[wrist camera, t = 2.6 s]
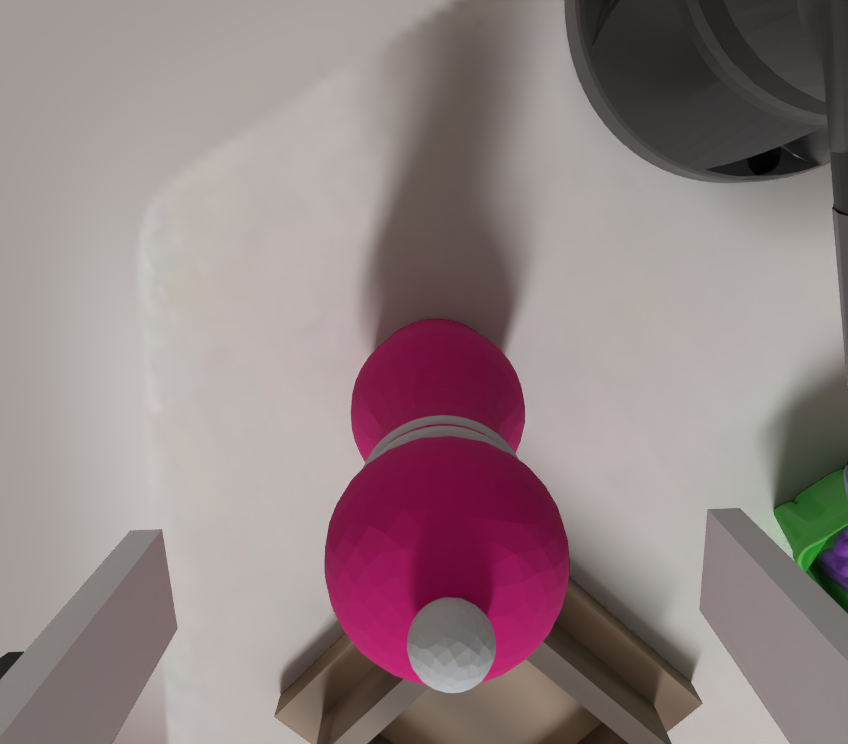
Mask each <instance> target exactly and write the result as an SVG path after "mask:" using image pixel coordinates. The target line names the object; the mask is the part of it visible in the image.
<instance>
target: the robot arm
mask: <svg viewBox="0 0 848 744" xmlns="http://www.w3.org/2000/svg"><path fill="white" fill-rule="evenodd" d="M565 16H566V28H567V36H568V42H569V47H570V52H571V56H572V59H573V63H574V66H575V69H576V72H577V75H578V78H579V80H580V83H581V85H582V87H583V89H584V92H585V94H586V95H587V97H588V99H589V101H590V103H591V105H592V106H593V108H594V109H595V111H596V113H597V114H598V116H599V117H600V118H601V120H602V121H603V122H604V124H605V125H606V126H607V127H608V128H609V130H610V131H611V132H612V133H613V134H614V135H615V136H616V137H617V138H618V139H619V140H620V141H621V142H622V143H623V144H624V145H626V146H627V147H628V148H629V149H630V150H632V151H633V152H634V153H636V154H637V155H638V156H640V157H641V158H643V159H644V160H646V161H648V162H650V163H651V164H653V165H655V166H657V167H659V168H661V169H663V170H665V171H668V172H671V173H673V174H676V175H679V176H683V177H686V178H690V179H695V180H700V181H707V182H717V183H737V182H757V181H767V180H775V179H780V178H785V177H790V176H793V175H797V174H801V173H804V172H807V171H809V170H812V169H815V168H818V167H821V166H823V165H825V164H828V163H830V162H831V170H832V183H833V196H834V204H833V205H834V206H833V208H832V210H833V222H834V234H835V245H836V257H837V269H838V280H839V292H840V304H841V315H842V327H843V339H844V351H845V362H846V374H847V386H848V0H565ZM844 484H845V491H846V496H847V498H848V463H847V466H846V467H845V469H844ZM700 611H701V612H702V614H703V615H704V617H705V618H706V620H707V621H708V623H709V624H710V626H711V627H712V629H713V630H714V632H715V633H716V635H717V636H718V638H719V639H720V641H721V642H722V644H723V645H724V647H725V648H726V649H727V651H728V652H729V654H730V655H731V657H732V658H733V660H734V661H735V663H736V664H737V666H738V667H739V669H740V670H741V672H742V673H743V675H744V676H745V678H746V679H747V681H748V682H749V684H750V685H751V686H752V688H753V689H754V691H755V692H756V694H757V695H758V697H759V698H760V700H761V701H762V703H763V704H764V706H765V707H766V709H767V710H768V712H769V713H770V715H771V716H772V718H773V719H774V721H775V722H776V723H777V725H778V726H779V728H780V729H781V731H782V732H783V734H784V735H785V737H786V738H787V740H788V741H789V743H790V744H848V613H847V612H846V611H845V610H843V609H842V608H841V607H840V606H839V605H838V604H837V603H836V602H835V601H834V600H833V599H832V598H831V597H830V596H829V595H828V594H827V593H826V592H825V591H824V590H823V589H822V588H821V587H820V586H819V585H818V584H817V583H816V582H815V581H814V580H813V579H812V578H811V577H810V576H809V575H808V574H807V573H806V572H805V571H803V570H802V569H801V568H800V567H799V566H798V565H797V564H796V563H795V562H794V561H793V560H792V559H791V558H790V557H789V556H788V555H787V554H786V553H785V552H784V551H783V550H782V549H781V548H780V547H779V546H778V545H777V544H776V543H775V542H774V541H773V540H772V539H771V538H770V537H769V536H768V535H767V534H766V533H765V532H764V531H762V530H761V529H760V528H759V527H758V526H757V525H756V524H755V523H754V522H753V521H752V520H751V519H750V518H749V517H748V516H747V515H746V514H745V513H744V512H743V511H742V510H741V509H740V508H731V509H708V511H707V523H706V536H705V548H704V561H703V573H702V586H701V598H700ZM176 630H177V622H176V616H175V610H174V603H173V597H172V590H171V584H170V578H169V571H168V565H167V558H166V552H165V546H164V539H163V533H162V530H135V531H130V532H129V533H128V534H127V535H126V536H125V537H124V538H123V540H122V541H121V542H120V543H119V544H118V545H117V547H116V548H115V549H114V550H113V551H112V552H111V553H110V555H109V556H108V557H107V558H106V559H105V560H104V561H103V563H102V564H101V565H100V566H99V567H98V568H97V569H96V571H95V572H94V573H93V574H92V575H91V576H90V578H89V579H88V580H87V581H86V582H85V583H84V584H83V585H82V587H81V588H80V589H79V590H78V591H77V592H76V594H75V595H74V596H73V597H72V598H71V599H70V600H69V601H68V603H67V604H66V605H65V606H64V607H63V608H62V610H61V611H60V612H59V613H58V614H57V615H56V616H55V618H54V619H53V620H52V621H51V622H50V623H49V625H48V626H47V627H46V628H45V629H44V630H43V631H42V632H41V634H40V635H39V636H38V637H37V638H36V639H35V640H34V642H33V643H32V644H31V645H30V646H29V647H28V649H27V650H26V651H25V652H8V653H7V654H5V655H4V656H2V657H1V658H0V744H112V743H113V742H114V740H115V738H116V736H117V735H118V732H119V731H120V729H121V727H122V726H123V724H124V722H125V720H126V719H127V717H128V715H129V713H130V711H131V710H132V708H133V706H134V704H135V703H136V701H137V699H138V697H139V696H140V694H141V692H142V690H143V688H144V687H145V685H146V683H147V681H148V680H149V678H150V676H151V674H152V673H153V671H154V669H155V667H156V666H157V664H158V662H159V660H160V658H161V657H162V655H163V653H164V651H165V650H166V648H167V646H168V644H169V643H170V641H171V639H172V637H173V635H174V634H175V632H176Z"/></svg>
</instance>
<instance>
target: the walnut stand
mask: <svg viewBox="0 0 848 744" xmlns="http://www.w3.org/2000/svg"><path fill="white" fill-rule="evenodd" d="M701 704H703V703H702V701H701V700H700V698H699V696H698V694H697V692H696V690H695V689H694V687H693V685H692V683H691V682H690V681H688V680H687V679H686V678H685V677H684V676H683V675H682V674H680V673H679V672H678V671H677V670H676V669H675V668H673V667H672V666H671V665H670V664H669V663H668V662H667V661H665V660H664V659H663V658H662V657H661V656H660V655H658V654H657V653H656V652H655V651H654V650H653V649H651V648H650V647H649V646H648V645H647V644H646V643H645V642H643V641H642V640H641V639H640V638H639V637H638V636H636V635H635V634H634V633H633V632H632V631H631V630H630V629H628V628H627V627H626V626H625V625H624V624H623V623H621V622H620V621H619V620H618V619H617V618H616V617H615V616H613V615H612V614H611V613H610V612H609V611H608V610H606V609H605V608H604V607H603V606H602V605H601V604H600V603H598V602H597V601H596V600H595V599H594V598H593V597H591V596H590V595H589V594H588V593H587V592H586V591H585V590H583V589H582V588H581V587H580V586H579V585H578V584H576V583H575V582H574V581H573V580H572V579H571V578H570V577H568V586H567V590H566V594H565V597H564V601H563V605H562V609H561V611H560V613H559V615H558V617H557V619H556V621H555V623H554V625H553V627H552V629H551V631H550V633H549V635H548V636H547V637H546V638H545V639H544V641H543V642H542V643H541V644H540V645H539V647H538V648H537V649H536V650H535V651H534V652H533V653H532V654H531V655H530V656H529V657H528V658H527V659H525V660H524V661H523V662H522V663H520V664H519V665H517V666H516V667H514V668H513V669H511V670H509V671H508V672H506V673H505V674H503V675H501V676H499V677H496V678H493V679H491V680H488V681H485V682H483V683H480V684H477V685H476V686H474V687H473V688H472V689H469V690H467V691H464V692H461V693H445V692H442V691H438V690H435V689H433V688H431V687H430V686H428V685H424V684H419V683H414V682H411V681H408V680H406V679H403V678H400V677H397V676H394V675H392V674H391V673H389V672H388V671H386V670H385V669H383V668H381V667H380V666H378V665H377V664H375V663H374V662H372V661H371V660H370V659H369V658H367V657H366V656H365V655H364V654H362V653H361V652H360V651H359V650H358V649H357V647H356V646H355V645H354V643H353V642H352V641H351V639H350V638H349V637H348V635H347V634H346V633H345V634H344V635H343V636H342V637H341V638H340V639H339V640H338V641H337V642H336V643H335V644H334V645H333V646H332V647H331V648H330V649H328V650H327V651H326V652H325V653H324V654H323V655H322V656H321V657H320V658H319V659H318V660H317V661H316V662H315V663H314V664H313V665H312V666H311V667H310V668H309V669H308V670H307V671H306V672H305V673H304V674H303V675H301V676H300V677H299V678H298V679H297V680H296V681H295V682H294V683H293V684H292V685H291V686H290V687H289V688H288V689H287V690H286V691H285V692H284V693H283V694H282V695H281V696H280V699H279V702H278V706H277V709H276V712H275V716H274V717H275V718H277V719H278V720H279V721H281V722H282V723H284V724H285V725H286V726H288V727H289V728H290V729H292V730H293V731H294V732H296V733H297V734H299V735H300V736H301V737H303V738H304V739H305V740H307V741H308V742H310V743H311V744H671V741H670V739H669V737H668V735H667V732H668V731H669V730H670V729H672V728H673V727H674V726H675V725H677V724H678V723H679V722H680V721H682V720H683V719H684V718H685V717H687V716H688V715H689V714H690V713H692V712H693V711H694V710H695V709H696V708H698V707H699V706H700V705H701Z"/></svg>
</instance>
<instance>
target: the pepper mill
mask: <svg viewBox="0 0 848 744" xmlns="http://www.w3.org/2000/svg"><path fill="white" fill-rule="evenodd" d="M351 422H352V431H353V435H354V439H355V442H356V444H357V447H358V449H359V451H360V454H361V455H362V457H363V459H364V461H365V462H366V463H365V465H364V467H363V469H362V470H361V471H360V472H359V473H358V474H357V475H356V476H355V477H354V478H353V479H352V480H351V482H350V484H349V485H348V487H347V488H346V490H345V492H344V493H343V495H342V496H341V498H340V500H339V501H338V503H337V505H336V507H335V510H334V512H333V515H332V517H331V520H330V522H329V528H328V534H327V540H326V546H325V578H326V584H327V588H328V593H329V597H330V601H331V605H332V608H333V610H334V612H335V614H336V616H337V618H338V620H339V622H340V625H341V627H342V629H343V630H344V631H345V633H346V634H347V635H348V637H349V638H350V639H351V641H352V642H353V643H354V645H355V646H356V647H357V649H358V650H359V651H360V652H361V653H362V654H364V655H365V656H366V657H367V658H369V659H370V660H371V661H372V662H374V663H375V664H377V665H378V666H380V667H381V668H383V669H385V670H386V671H388V672H389V673H391V674H392V675H394V676H397V677H400V678H403V679H406V680H408V681H411V682H414V683H419V684H424V685H428V686H430V687H431V688H433V689H435V690H438V691H442V692H445V693H461V692H464V691H467V690H469V689H472V688H473V687H474V686H476V685H477V684H480V683H483V682H485V681H488V680H491V679H493V678H496V677H499V676H501V675H503V674H505V673H506V672H508V671H509V670H511V669H513V668H514V667H516V666H517V665H519V664H520V663H522V662H523V661H524V660H525V659H527V658H528V657H529V656H530V655H531V654H532V653H533V652H534V651H535V650H536V649H537V648H538V647H539V645H540V644H541V643H542V642H543V641H544V639H545V638H546V637H547V636H548V635H549V633H550V631H551V629H552V627H553V625H554V623H555V621H556V619H557V617H558V615H559V613H560V611H561V609H562V605H563V601H564V597H565V594H566V590H567V586H568V577H569V568H570V561H569V550H568V540H567V536H566V533H565V529H564V526H563V523H562V520H561V516H560V513H559V510H558V507H557V505H556V503H555V502H554V500H553V498H552V497H551V495H550V493H549V492H548V490H547V488H546V487H545V485H544V484H543V483H542V482H541V481H540V480H539V479H538V477H537V476H536V475H535V474H534V473H533V472H532V471H531V470H530V469H529V468H528V466H527V465H525V464H524V463H522V462H521V461H520V460H519V459H518V457H517V456H516V454H515V453H516V450H517V448H518V446H519V444H520V441H521V437H522V432H523V428H524V424H525V405H524V399H523V393H522V389H521V384H520V382H519V379H518V376H517V374H516V372H515V370H514V368H513V366H512V365H511V363H510V361H509V360H508V359H507V358H506V356H505V355H504V354H503V353H502V351H501V350H499V349H498V348H497V347H496V346H495V345H494V344H493V343H491V342H490V341H489V340H487V339H486V338H484V337H483V336H481V335H479V334H478V333H477V332H476V331H474V330H472V329H470V328H469V327H467V326H465V325H463V324H460V323H458V322H455V321H449V320H443V319H427V320H422V321H418V322H415V323H412V324H410V325H408V326H406V327H404V328H402V329H400V330H399V331H397V332H396V333H395V334H393V335H392V336H391V337H390V338H389V339H388V340H387V341H386V342H384V343H383V344H382V345H380V346H379V347H378V348H377V349H376V350H375V351H374V352H373V353H372V355H371V356H370V357H369V358H368V359H367V361H366V362H365V364H364V365H363V367H362V368H361V370H360V373H359V375H358V377H357V379H356V382H355V386H354V390H353V394H352V405H351Z"/></svg>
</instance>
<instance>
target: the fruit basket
mask: <svg viewBox="0 0 848 744" xmlns="http://www.w3.org/2000/svg"><path fill="white" fill-rule="evenodd" d="M774 515H775V518H776V519H777V521H778V523H779V525H780V527H781V529H782V531H783V533H784V534H785V536H786V538H787V540H788V542H789V544H790V546H791V548H792V550H793V558H794V561H795V563H796V564H797V565H798V566H799V567H800V568H801V569H802V570H803V571H805V572H806V573H807V574H808V575H809V576H810V577H811V578H812V579H813V580H814V581H815V582H816V583H817V584H818V585H819V586H820V587H821V588H822V589H823V590H824V591H825V592H826V593H827V594H828V595H829V596H830V597H831V598H832V599H833V600H834V601H835V602H836V603H837V604H838V605H839V606H840V607H841V608H842V609H843V610H845V611H846V612H847V613H848V498H847V496H846V491H845V484H844V470H843V469H841V470H838V471H835V472H832V473H830V474H829V475H827V476H826V477H824V478H823V479H821V480H819V481H818V482H816V483H815V484H813V485H812V486H810V487H808V488H807V489H805V490H804V491H802V492H801V493H800V494H799V495H798V496H797V497H796V498H795V499H794V501H793V502H788V503H785V504H782V505H780V506H778V507H777V508H776V509H775V510H774Z"/></svg>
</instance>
